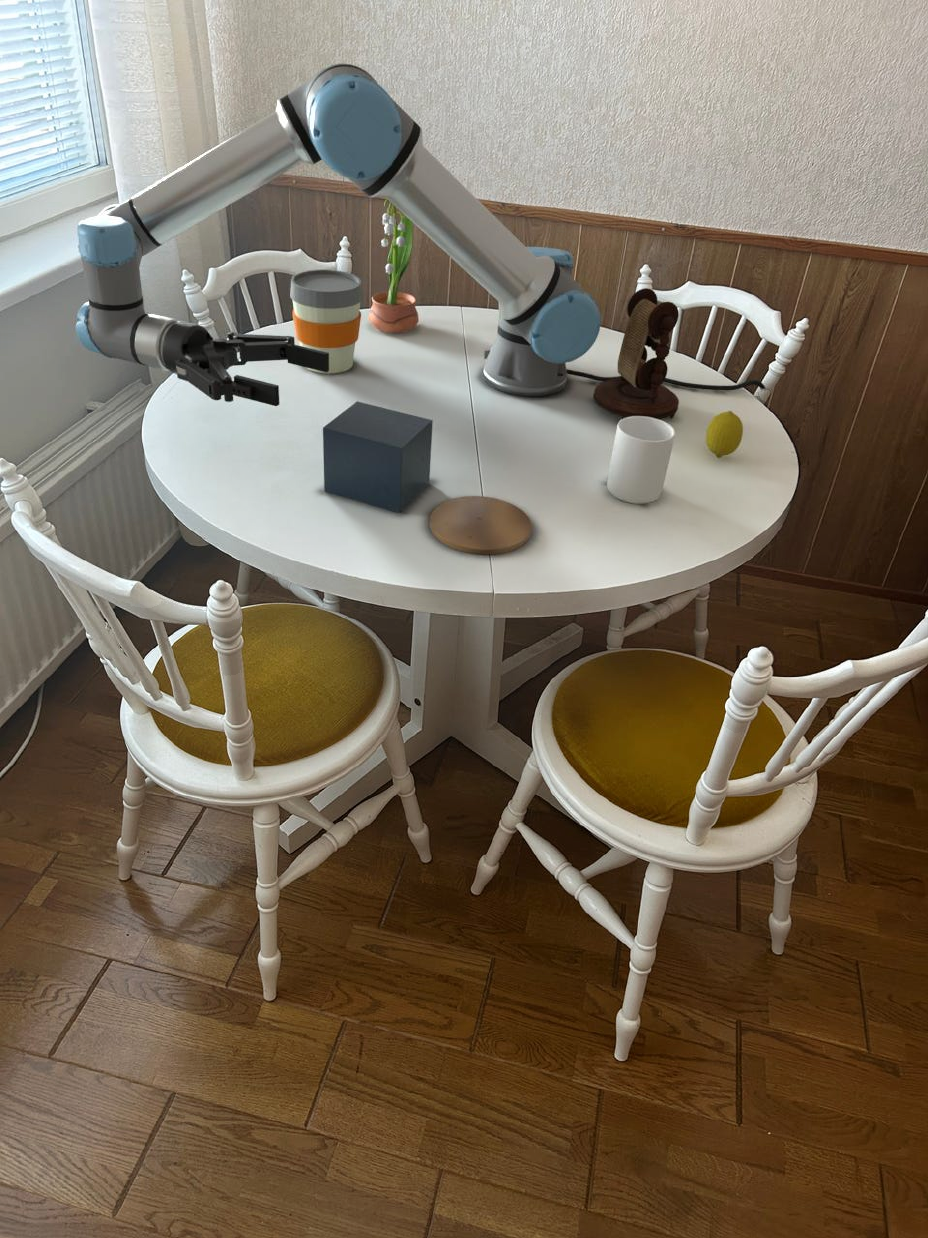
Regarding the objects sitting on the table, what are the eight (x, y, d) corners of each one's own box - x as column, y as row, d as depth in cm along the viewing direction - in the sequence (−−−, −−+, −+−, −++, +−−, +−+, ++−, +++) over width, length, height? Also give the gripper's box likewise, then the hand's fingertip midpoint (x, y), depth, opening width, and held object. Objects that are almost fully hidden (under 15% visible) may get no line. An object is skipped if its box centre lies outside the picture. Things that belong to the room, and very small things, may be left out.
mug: (588, 468, 143) (598, 406, 137) (637, 464, 145) (649, 403, 139) (619, 507, 134) (631, 443, 128) (670, 503, 136) (685, 439, 130)
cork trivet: (510, 496, 134) (511, 491, 134) (545, 548, 124) (546, 543, 123) (418, 505, 130) (418, 500, 130) (446, 559, 120) (446, 554, 119)
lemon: (737, 453, 151) (749, 408, 146) (733, 468, 147) (746, 421, 142) (703, 446, 152) (714, 401, 147) (698, 460, 148) (710, 414, 143)
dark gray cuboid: (323, 491, 132) (322, 427, 125) (356, 462, 139) (356, 400, 133) (399, 513, 128) (402, 448, 122) (429, 482, 136) (432, 419, 130)
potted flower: (409, 342, 179) (413, 205, 164) (359, 335, 181) (359, 198, 165) (423, 322, 189) (429, 191, 174) (376, 315, 190) (377, 184, 175)
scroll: (577, 396, 165) (594, 282, 153) (648, 388, 170) (670, 278, 157) (617, 432, 154) (640, 313, 142) (692, 423, 159) (719, 307, 147)
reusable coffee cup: (278, 364, 166) (274, 280, 157) (322, 345, 175) (320, 264, 166) (333, 383, 161) (332, 297, 152) (376, 362, 170) (377, 279, 161)
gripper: (227, 344, 146) (346, 374, 140) (123, 401, 127) (255, 437, 121) (223, 297, 141) (346, 325, 136) (114, 348, 122) (252, 383, 117)
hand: (304, 378), depth 128 cm, fingers open, 13 cm apart
